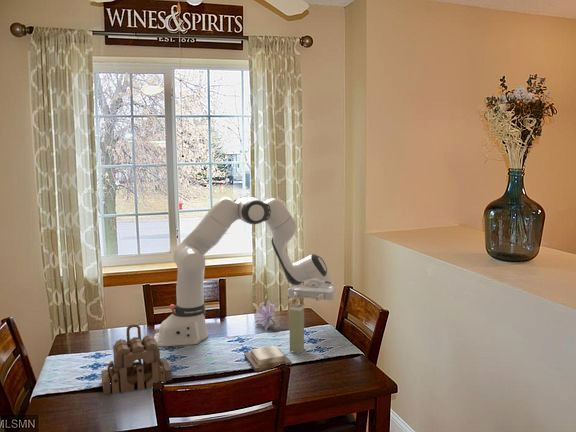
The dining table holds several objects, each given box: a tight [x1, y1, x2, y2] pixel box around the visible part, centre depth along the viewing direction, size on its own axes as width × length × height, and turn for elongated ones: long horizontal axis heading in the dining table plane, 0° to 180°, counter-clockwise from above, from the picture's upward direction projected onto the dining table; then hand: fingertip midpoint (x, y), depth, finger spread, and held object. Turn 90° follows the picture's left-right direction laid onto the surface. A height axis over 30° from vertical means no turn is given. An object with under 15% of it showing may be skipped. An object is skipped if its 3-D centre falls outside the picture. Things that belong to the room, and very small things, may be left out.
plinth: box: [243, 345, 293, 372], centre depth 184 cm, size 14×14×3 cm
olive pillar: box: [288, 303, 305, 353], centre depth 193 cm, size 5×5×18 cm
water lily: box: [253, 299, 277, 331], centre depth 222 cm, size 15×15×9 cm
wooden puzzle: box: [100, 323, 173, 395], centre depth 168 cm, size 22×15×19 cm, turn 114°
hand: (306, 297), depth 203 cm, fingers open, 8 cm apart
